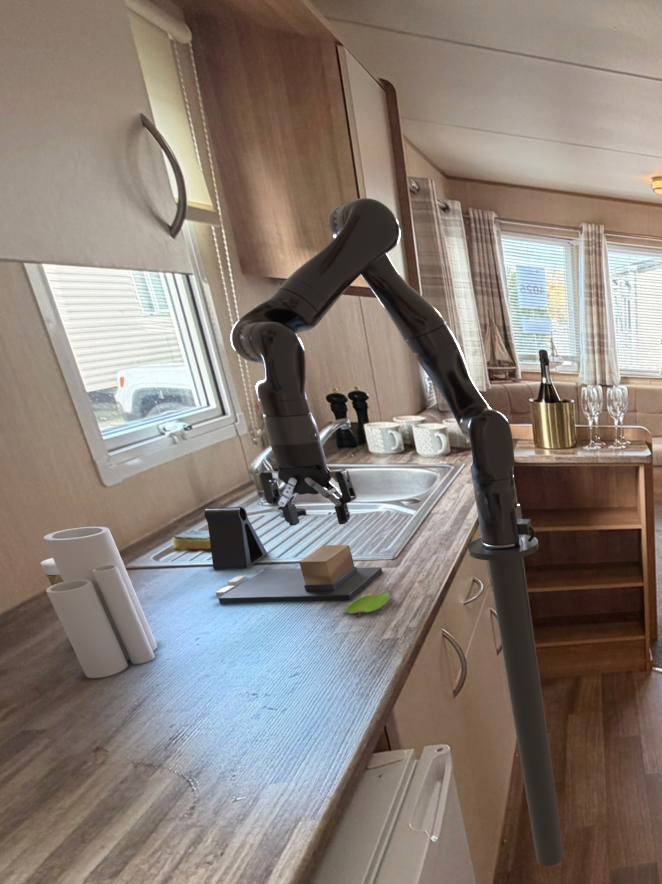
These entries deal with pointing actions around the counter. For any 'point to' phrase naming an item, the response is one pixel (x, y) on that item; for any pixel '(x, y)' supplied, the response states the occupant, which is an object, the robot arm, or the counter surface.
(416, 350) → the robot arm
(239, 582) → the small white block
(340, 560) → the eraser
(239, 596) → the memo board
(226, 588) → the small white block
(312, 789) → the counter surface
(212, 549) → the phone stand
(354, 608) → the decorative leaf
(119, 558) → the vase
